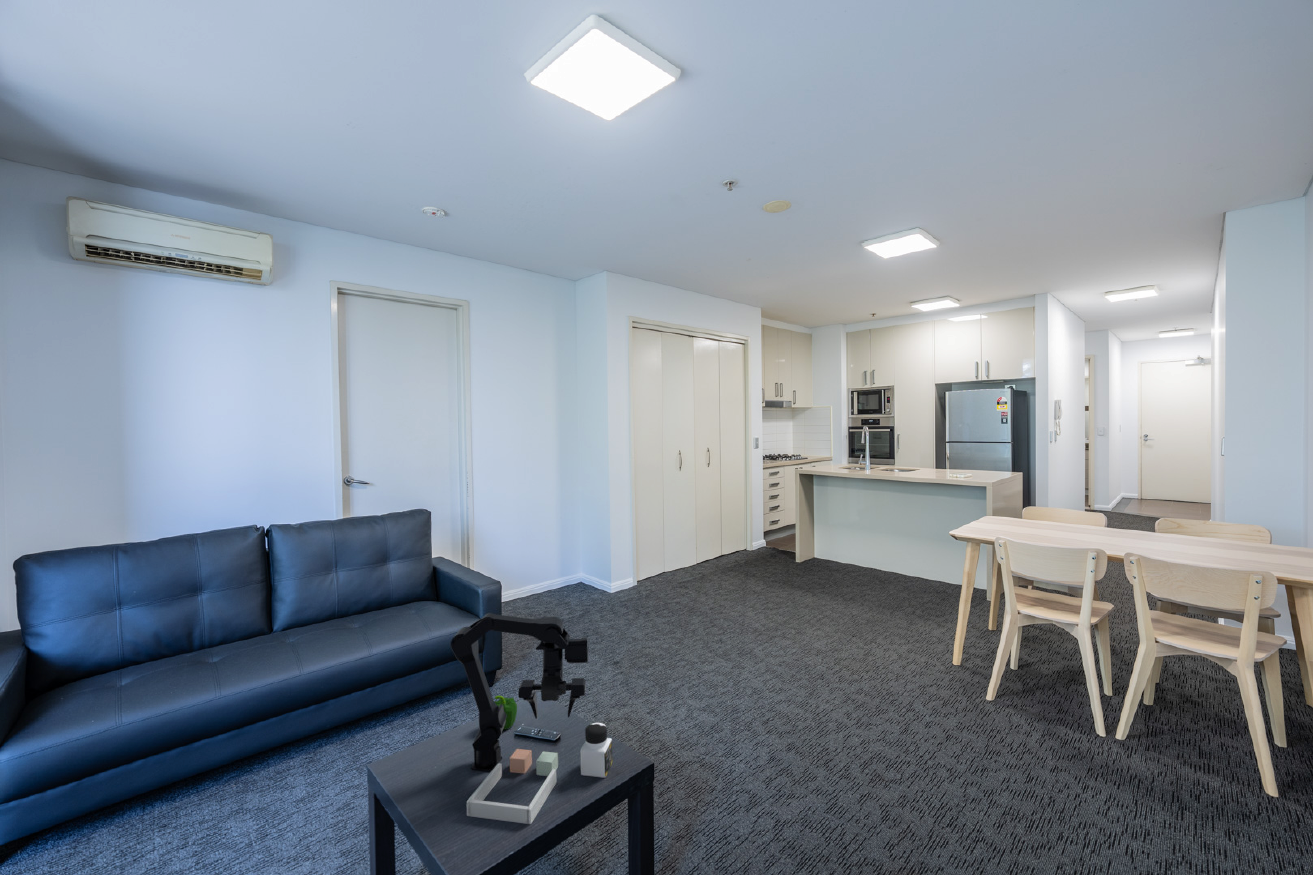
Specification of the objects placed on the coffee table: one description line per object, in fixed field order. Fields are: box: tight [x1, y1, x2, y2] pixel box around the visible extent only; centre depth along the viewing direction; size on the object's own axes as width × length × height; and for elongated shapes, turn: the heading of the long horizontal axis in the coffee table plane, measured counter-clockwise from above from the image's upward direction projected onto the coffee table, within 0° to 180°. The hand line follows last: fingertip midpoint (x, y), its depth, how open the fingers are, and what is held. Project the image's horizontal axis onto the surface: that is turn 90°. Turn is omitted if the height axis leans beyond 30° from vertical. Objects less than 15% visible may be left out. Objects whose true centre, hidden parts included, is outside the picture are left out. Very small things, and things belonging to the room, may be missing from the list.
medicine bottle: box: [579, 722, 613, 779], centre depth 151 cm, size 7×7×12 cm
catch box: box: [466, 762, 557, 825], centre depth 140 cm, size 17×16×4 cm
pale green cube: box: [535, 751, 559, 777], centre depth 151 cm, size 4×4×4 cm
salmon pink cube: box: [509, 748, 533, 774], centre depth 153 cm, size 4×4×4 cm
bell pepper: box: [494, 695, 518, 730], centre depth 176 cm, size 8×8×10 cm
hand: (552, 717), depth 156 cm, fingers open, 9 cm apart
